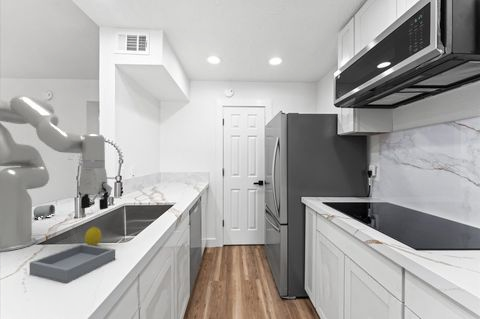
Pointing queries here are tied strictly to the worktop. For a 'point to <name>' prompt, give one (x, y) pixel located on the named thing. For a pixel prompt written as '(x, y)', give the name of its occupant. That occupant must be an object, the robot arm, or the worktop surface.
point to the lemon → (93, 236)
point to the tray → (72, 262)
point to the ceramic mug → (44, 211)
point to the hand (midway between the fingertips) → (94, 208)
